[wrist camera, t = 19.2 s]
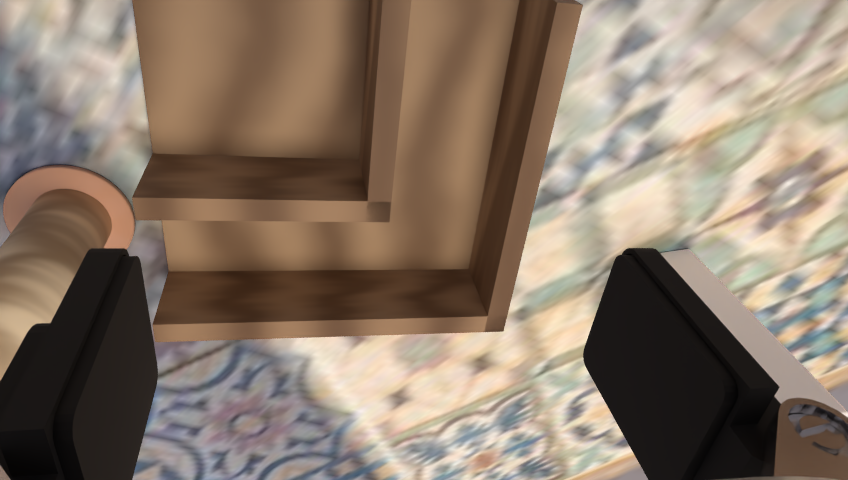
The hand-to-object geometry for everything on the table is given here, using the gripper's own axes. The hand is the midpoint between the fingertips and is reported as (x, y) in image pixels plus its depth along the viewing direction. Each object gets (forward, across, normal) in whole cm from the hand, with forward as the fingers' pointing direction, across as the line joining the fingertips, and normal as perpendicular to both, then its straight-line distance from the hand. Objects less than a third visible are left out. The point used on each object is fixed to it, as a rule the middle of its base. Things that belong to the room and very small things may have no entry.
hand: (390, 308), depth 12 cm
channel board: (+30, -1, +10) cm, 32 cm away
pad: (+30, +17, +16) cm, 38 cm away
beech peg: (+30, +17, +16) cm, 38 cm away
